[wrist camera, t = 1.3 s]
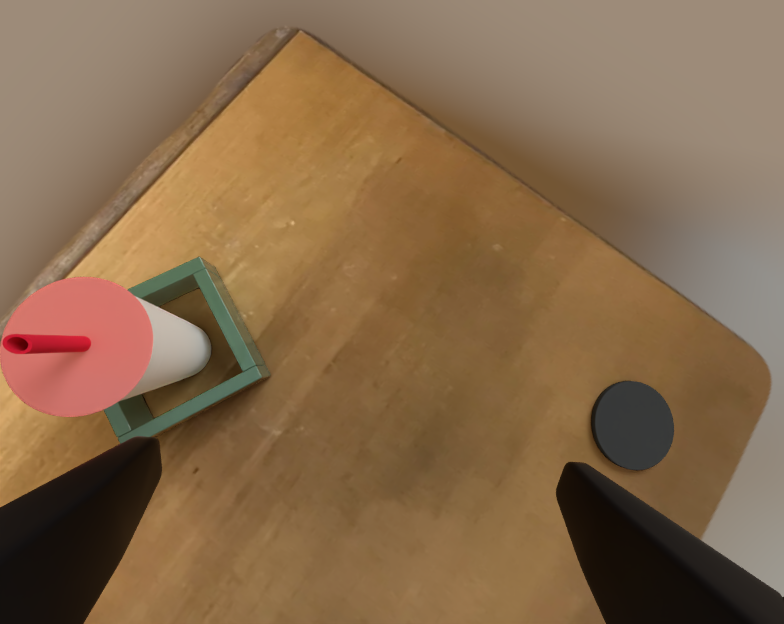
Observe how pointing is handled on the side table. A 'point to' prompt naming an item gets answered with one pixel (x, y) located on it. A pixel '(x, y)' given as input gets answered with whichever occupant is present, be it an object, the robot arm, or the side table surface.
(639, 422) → the coaster
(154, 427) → the holder
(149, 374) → the cup
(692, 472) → the side table surface
